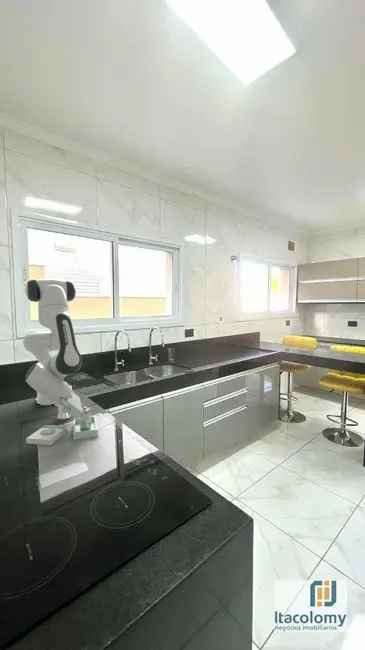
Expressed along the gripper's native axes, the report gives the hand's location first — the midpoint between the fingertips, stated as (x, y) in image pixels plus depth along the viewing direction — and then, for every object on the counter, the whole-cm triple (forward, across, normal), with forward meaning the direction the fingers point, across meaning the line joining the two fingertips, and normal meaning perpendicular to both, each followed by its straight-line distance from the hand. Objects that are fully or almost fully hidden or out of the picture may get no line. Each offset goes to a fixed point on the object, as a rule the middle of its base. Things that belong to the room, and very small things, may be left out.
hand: (86, 414), depth 118 cm
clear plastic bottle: (-1, +18, +11) cm, 21 cm away
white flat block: (-6, -1, +15) cm, 16 cm away
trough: (+4, 0, +5) cm, 7 cm away
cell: (+4, -2, +5) cm, 6 cm away
